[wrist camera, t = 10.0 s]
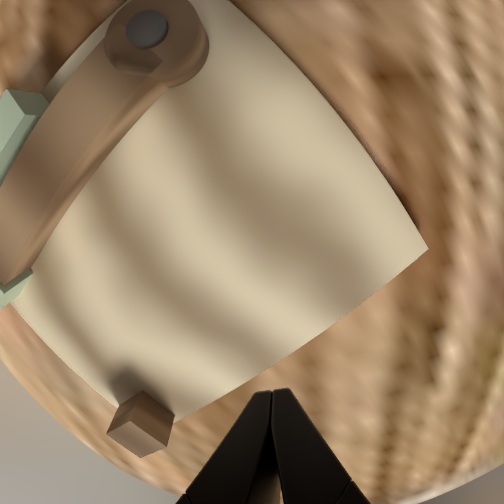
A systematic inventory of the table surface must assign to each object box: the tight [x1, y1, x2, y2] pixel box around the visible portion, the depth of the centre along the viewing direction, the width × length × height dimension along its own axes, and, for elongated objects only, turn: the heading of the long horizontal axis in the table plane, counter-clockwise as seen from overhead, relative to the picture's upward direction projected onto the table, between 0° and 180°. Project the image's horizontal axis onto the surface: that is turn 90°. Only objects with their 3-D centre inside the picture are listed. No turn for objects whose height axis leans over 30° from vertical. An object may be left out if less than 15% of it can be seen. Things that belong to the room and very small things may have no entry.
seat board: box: [10, 0, 428, 458], centre depth 15 cm, size 23×21×4 cm
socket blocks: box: [0, 89, 50, 310], centre depth 14 cm, size 11×7×3 cm, turn 131°
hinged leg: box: [0, 0, 209, 285], centre depth 12 cm, size 16×4×4 cm, turn 133°
